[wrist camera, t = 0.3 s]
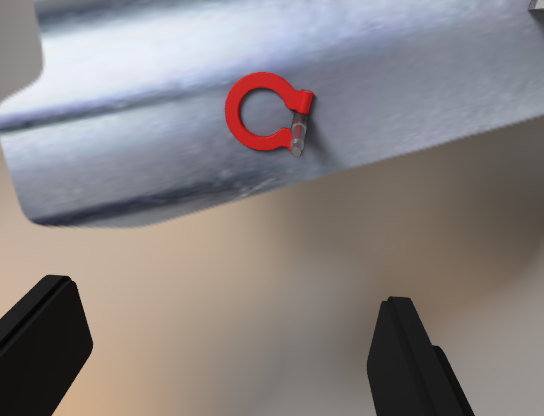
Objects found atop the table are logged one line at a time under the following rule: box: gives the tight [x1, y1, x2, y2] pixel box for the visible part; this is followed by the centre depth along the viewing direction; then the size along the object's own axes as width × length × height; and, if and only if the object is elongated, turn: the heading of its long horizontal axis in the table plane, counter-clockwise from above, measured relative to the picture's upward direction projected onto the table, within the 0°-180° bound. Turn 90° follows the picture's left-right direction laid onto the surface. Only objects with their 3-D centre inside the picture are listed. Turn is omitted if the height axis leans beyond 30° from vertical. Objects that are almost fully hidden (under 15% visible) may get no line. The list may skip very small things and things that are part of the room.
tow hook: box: [225, 72, 313, 157], centre depth 32 cm, size 8×13×9 cm
